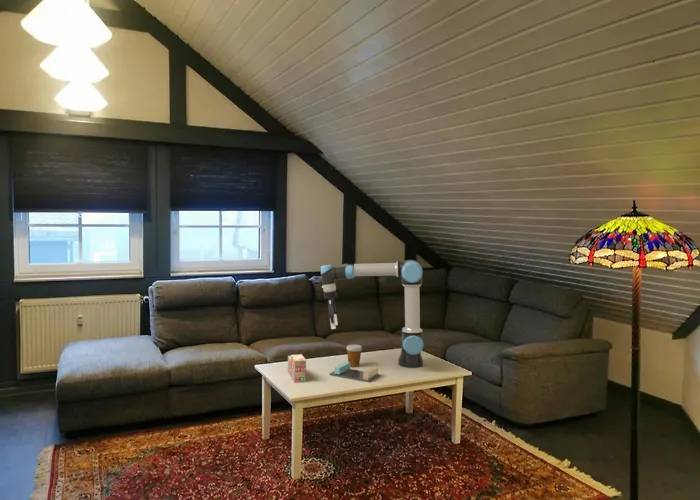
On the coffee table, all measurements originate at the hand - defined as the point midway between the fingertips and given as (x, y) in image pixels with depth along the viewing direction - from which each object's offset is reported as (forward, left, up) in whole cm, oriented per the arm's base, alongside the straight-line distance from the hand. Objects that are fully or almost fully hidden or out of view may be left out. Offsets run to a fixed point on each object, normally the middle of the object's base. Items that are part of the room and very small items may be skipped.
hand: (334, 327), depth 329 cm
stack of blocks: (+21, +17, -25) cm, 37 cm away
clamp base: (-12, +14, -25) cm, 31 cm away
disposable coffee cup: (-12, -6, -25) cm, 28 cm away
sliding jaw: (-5, +10, -23) cm, 26 cm away
